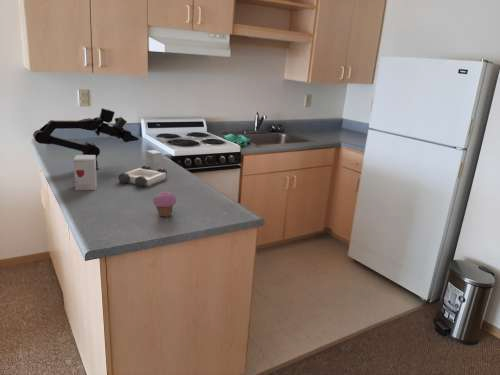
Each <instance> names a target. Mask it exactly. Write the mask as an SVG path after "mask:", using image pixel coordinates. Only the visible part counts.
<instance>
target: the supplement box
mask: <svg viewBox="0 0 500 375" xmlns="http://www.w3.org/2000/svg"><path fill="white" fill-rule="evenodd" d="M73 170H74V171H73V172H74V186H75V191H96V190H97V186H98V176H97V170H96V155H82V154H75V156H74V158H73Z"/></svg>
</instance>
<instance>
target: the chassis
mask: <svg viewBox="0 0 500 375" xmlns="http://www.w3.org/2000/svg"><path fill="white" fill-rule="evenodd" d="M167 176H168V171H167V169H166V168H164V167H162V168H161V169H158V170H157V171H153V170H151V167H150V166H148V165H147V164H146V165H142V166H141V167H138V168H136V169H132V170H129V171H127V172H123V173H120V174H119V175H118V182H120V183H121V184H133V185H136V186H137V187H139V188H142V187H147V188H148V187H152V186H154V185H156V184H158V183H161V182H163V181H165V180H167Z"/></svg>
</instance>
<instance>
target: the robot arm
mask: <svg viewBox="0 0 500 375" xmlns="http://www.w3.org/2000/svg"><path fill="white" fill-rule="evenodd" d="M115 112H116V111H113V110H111V109H106V108H104V107H102V108H101V110H100V114H99V116H98V117H93V118H90V117H89V118H83V119H79V120H54V119H51V120H49V121H48V122H47V123H46V124H45V125H43V126H42V127H40V128H39V129H37V130H35V131H34V132H33V134H32V137H33V139H34V140H35V141H36V143H38V144H42V145H56V146H60V147H63V148H66V149H71V150H74V151H75V150H76V151H78V152H81V155H96V171H97V170H99V169H100V168H99V164H98V160H97V159H98V156H99V155H100V154H101V149H100V148H99V147H98V146H97V145H96V144H95V143H94V142H89V141H87V140H85V143H81V142H77V141H72V140H69V139H66V138H63V137H57V136H54V135H53V134H52V133H53V132H54V131H55V130H56V129H59V130H60V129H66V130H68V129H71V130H72V129H81V130H85V131H93V132H94V133H95V135H96V136H98V137H99V136H100V134H103V135H108V136H109V137H114V138H117V139H121V141H122V142H123V143H128V142H135V141H139V140H140V139H139V137H137V136H135V135H134V134H132V132H131V131H130V130H128V129H124V126H125V125H126V124H127V123H128V121H127V120H126V119H124V118H123V117H122V116H119V117H115V118H114V116H115ZM113 119H114V124H110V123H111V122H113Z"/></svg>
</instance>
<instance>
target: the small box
mask: <svg viewBox="0 0 500 375" xmlns="http://www.w3.org/2000/svg"><path fill="white" fill-rule="evenodd" d="M146 165H148V166H150V167H151V170H153V171H157V170H158V169H161V168H163V152H162V151H158V150H157V149H152V150H151V149H150V150H146Z"/></svg>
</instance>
